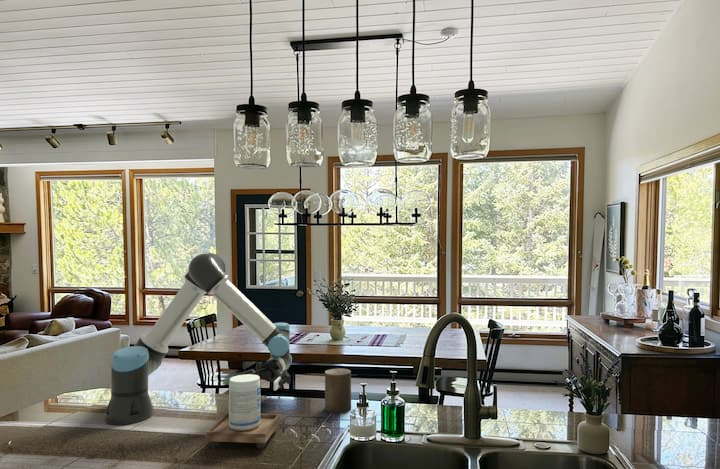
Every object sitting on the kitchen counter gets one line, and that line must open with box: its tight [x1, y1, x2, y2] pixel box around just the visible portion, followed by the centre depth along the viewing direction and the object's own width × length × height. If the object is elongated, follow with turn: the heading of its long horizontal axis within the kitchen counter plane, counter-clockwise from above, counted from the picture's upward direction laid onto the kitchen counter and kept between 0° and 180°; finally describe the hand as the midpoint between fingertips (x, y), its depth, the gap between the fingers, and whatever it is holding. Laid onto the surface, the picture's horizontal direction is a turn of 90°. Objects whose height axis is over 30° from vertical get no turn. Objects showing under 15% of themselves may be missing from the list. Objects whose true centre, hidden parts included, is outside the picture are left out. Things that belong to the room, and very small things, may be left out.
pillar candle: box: [324, 368, 352, 414], centre depth 167 cm, size 10×10×15 cm
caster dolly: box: [205, 412, 281, 450], centre depth 140 cm, size 18×16×5 cm
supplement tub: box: [228, 374, 262, 431], centre depth 141 cm, size 10×10×15 cm
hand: (254, 385), depth 150 cm, fingers open, 13 cm apart
